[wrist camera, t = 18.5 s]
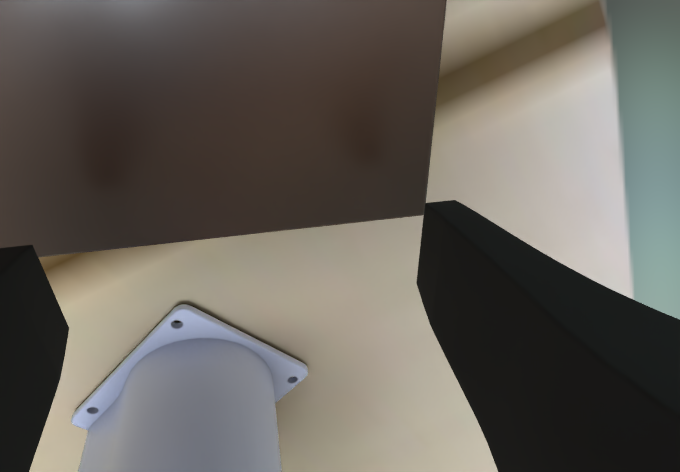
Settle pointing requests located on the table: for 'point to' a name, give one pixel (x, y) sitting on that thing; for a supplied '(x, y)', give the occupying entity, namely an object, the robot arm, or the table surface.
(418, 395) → the table surface
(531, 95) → the table surface
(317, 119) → the cabinet
